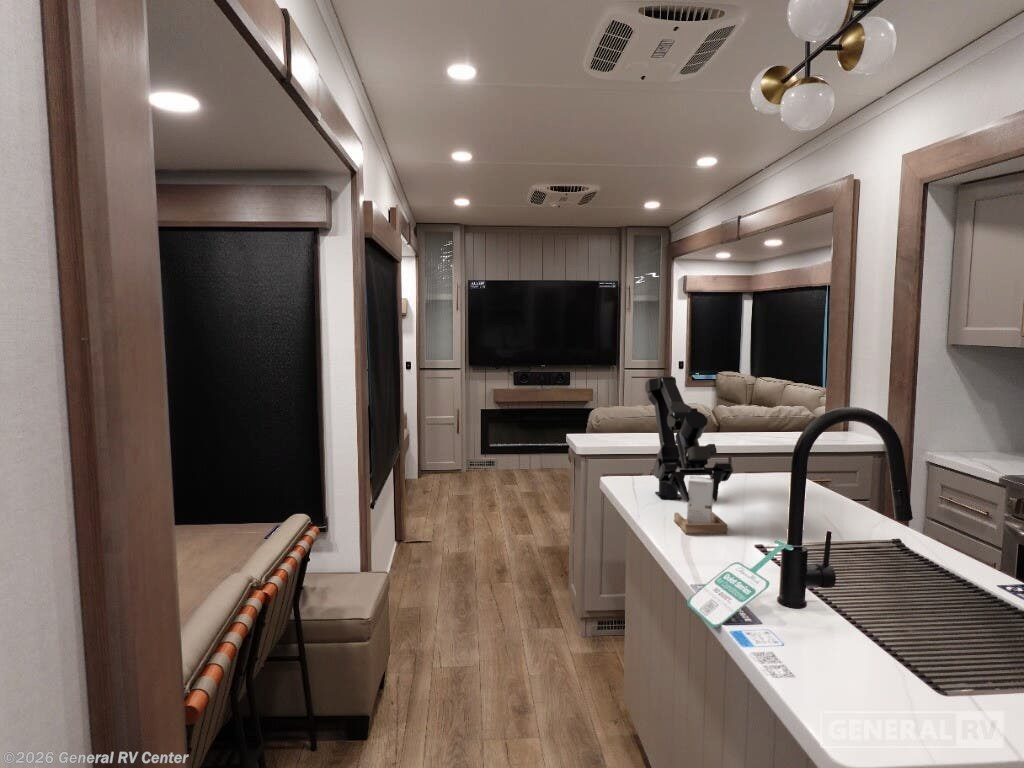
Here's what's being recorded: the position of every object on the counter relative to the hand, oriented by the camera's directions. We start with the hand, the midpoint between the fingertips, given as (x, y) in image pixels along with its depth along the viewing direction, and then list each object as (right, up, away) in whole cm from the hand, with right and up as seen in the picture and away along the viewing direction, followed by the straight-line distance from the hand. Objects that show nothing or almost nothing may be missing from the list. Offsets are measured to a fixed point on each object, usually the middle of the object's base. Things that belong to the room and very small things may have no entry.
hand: (701, 500), depth 152 cm
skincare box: (0, -7, +2) cm, 7 cm away
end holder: (0, -7, +2) cm, 8 cm away
